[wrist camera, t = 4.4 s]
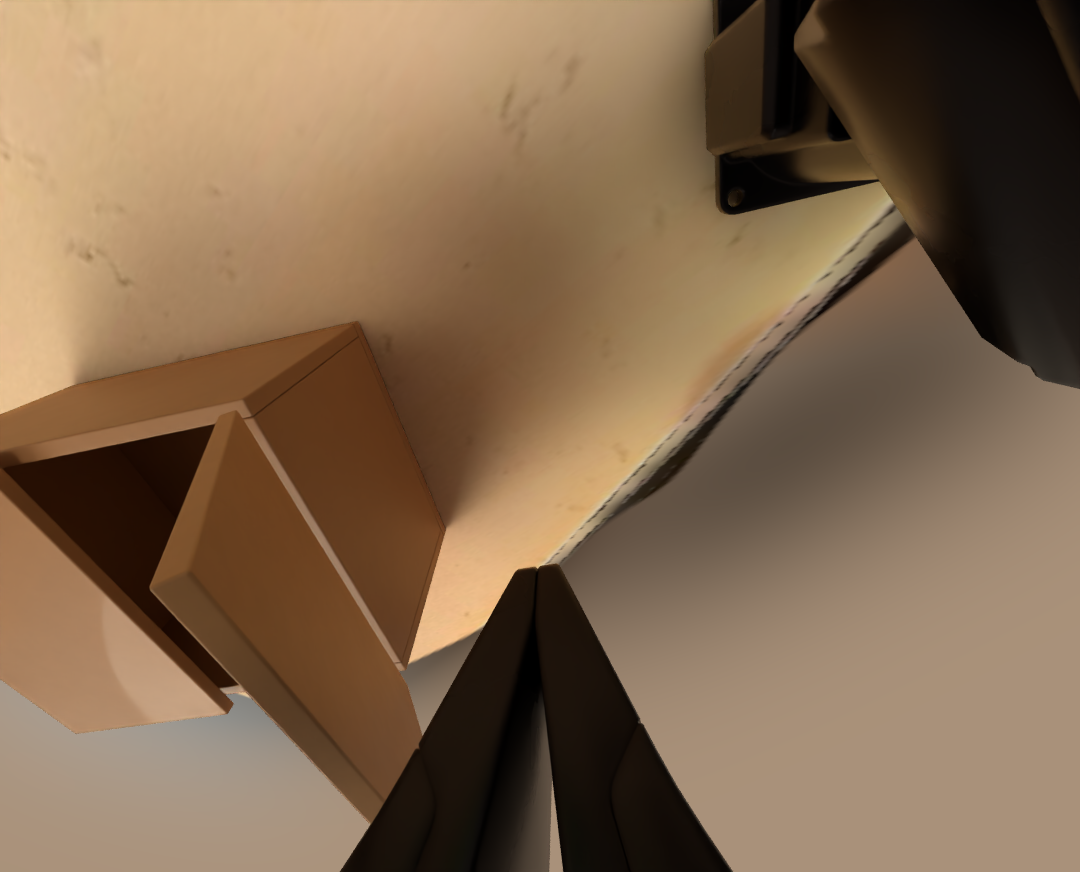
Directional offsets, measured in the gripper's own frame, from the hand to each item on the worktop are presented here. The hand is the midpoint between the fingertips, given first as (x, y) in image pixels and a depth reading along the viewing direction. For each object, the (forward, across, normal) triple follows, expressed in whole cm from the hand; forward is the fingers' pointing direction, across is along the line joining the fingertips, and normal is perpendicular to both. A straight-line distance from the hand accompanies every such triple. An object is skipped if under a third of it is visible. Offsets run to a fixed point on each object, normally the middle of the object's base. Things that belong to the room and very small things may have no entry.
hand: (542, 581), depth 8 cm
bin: (+11, +13, +2) cm, 17 cm away
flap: (0, +5, +2) cm, 5 cm away
